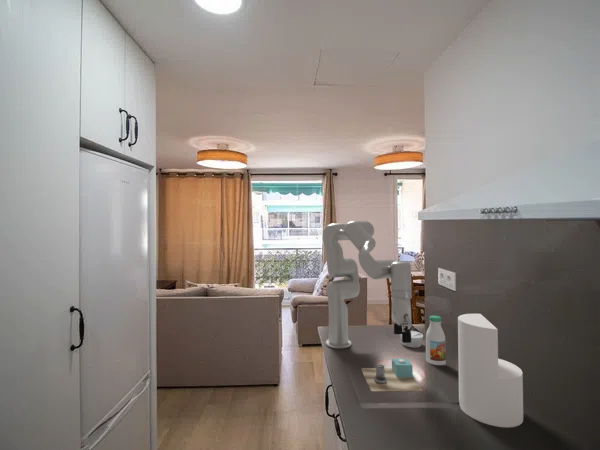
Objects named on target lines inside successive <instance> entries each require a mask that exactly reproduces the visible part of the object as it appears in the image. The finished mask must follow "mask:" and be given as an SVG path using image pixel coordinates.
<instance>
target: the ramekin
mask: <svg viewBox="0 0 600 450" xmlns="http://www.w3.org/2000/svg"><path fill="white" fill-rule="evenodd" d="M402 332H403V330H402ZM398 335H399V337H400V343H401V344H402V346H404V347H407V348H413V349H417V348H421V346H422V345H423V339H424V335H423V333H421V332H419V331H415V330H411V343H403V342H402V334H398Z"/></svg>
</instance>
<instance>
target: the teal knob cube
mask: <svg viewBox="0 0 600 450" xmlns="http://www.w3.org/2000/svg"><path fill="white" fill-rule="evenodd" d="M391 368H392V371H393V372H394V374H395V375H396V377H413V373H414V371H413V364H412V363H411V361H410V360H409V359H408V358H391ZM413 378H414V377H413Z"/></svg>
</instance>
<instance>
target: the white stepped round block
mask: <svg viewBox="0 0 600 450" xmlns="http://www.w3.org/2000/svg"><path fill="white" fill-rule="evenodd" d="M498 331H499V329H498V328H497V327H496V326H495V325H494V324H492V323H491V321H489V320H488V319H487V318H486V317H485V316H484V315H482V313H465V314H461V315H459V316H457V335H458V336H457V343H458V344H457V345H458V348H457V350H458V352H457V354H458V356H457V357H458V359H457V360H458V404H459V408H460V409H461V411H462V412H463V413H465V414H466V415H467V416H468V417H470V418H472V419H474V420H475V421H478V422H480V423H482V424H486V425H489V426H492V427H498V428H515V427H516V428H517V427H518V426H520V425H521V424H522V423H523V422H524V387H523V386H524V383H523V382H524V381H523V380H524V379H523V377H524V376H523V371H522V369H521V368H520V367H518V365H516V364H514V363H512V362H510V361H507V360H504V359H501V358H499V335H498V333H499V332H498Z"/></svg>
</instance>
